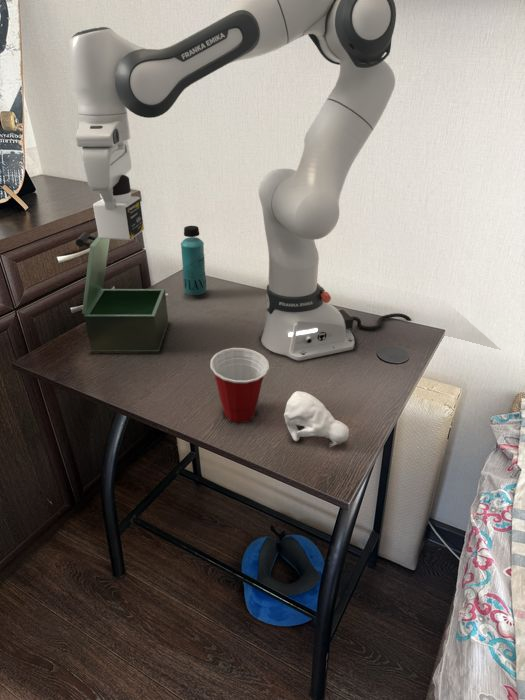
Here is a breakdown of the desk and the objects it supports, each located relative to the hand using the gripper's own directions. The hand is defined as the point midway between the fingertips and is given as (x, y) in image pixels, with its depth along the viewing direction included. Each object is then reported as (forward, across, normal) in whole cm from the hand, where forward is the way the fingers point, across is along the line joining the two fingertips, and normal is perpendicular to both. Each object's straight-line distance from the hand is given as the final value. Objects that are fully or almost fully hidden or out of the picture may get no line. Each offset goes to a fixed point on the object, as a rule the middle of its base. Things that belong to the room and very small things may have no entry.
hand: (116, 203), depth 102 cm
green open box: (+34, -4, -2) cm, 34 cm away
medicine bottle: (+7, 0, 0) cm, 7 cm away
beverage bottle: (+34, -28, +11) cm, 46 cm away
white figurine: (+34, +33, +39) cm, 61 cm away
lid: (+16, -4, -7) cm, 18 cm away
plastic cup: (+34, +26, +25) cm, 50 cm away
